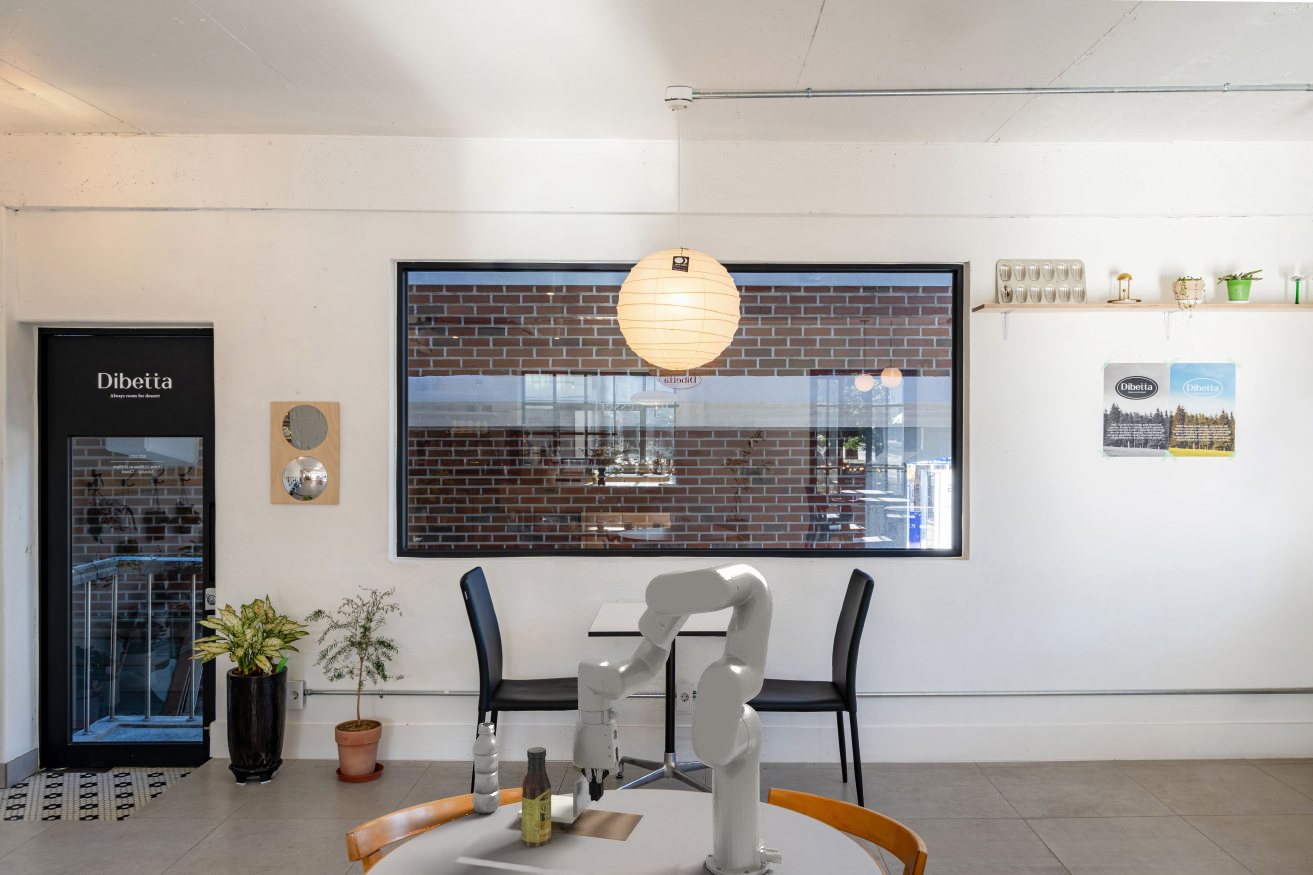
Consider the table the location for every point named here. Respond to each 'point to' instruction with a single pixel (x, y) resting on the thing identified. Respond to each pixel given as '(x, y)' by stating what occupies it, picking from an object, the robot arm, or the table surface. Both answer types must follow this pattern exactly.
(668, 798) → the table surface
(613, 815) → the clip board
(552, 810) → the white bracket
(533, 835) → the sauce bottle
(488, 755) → the silver water bottle
